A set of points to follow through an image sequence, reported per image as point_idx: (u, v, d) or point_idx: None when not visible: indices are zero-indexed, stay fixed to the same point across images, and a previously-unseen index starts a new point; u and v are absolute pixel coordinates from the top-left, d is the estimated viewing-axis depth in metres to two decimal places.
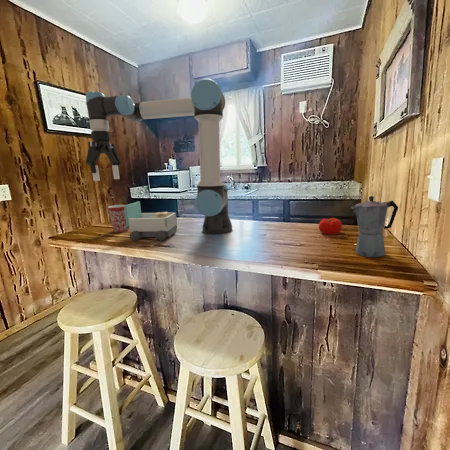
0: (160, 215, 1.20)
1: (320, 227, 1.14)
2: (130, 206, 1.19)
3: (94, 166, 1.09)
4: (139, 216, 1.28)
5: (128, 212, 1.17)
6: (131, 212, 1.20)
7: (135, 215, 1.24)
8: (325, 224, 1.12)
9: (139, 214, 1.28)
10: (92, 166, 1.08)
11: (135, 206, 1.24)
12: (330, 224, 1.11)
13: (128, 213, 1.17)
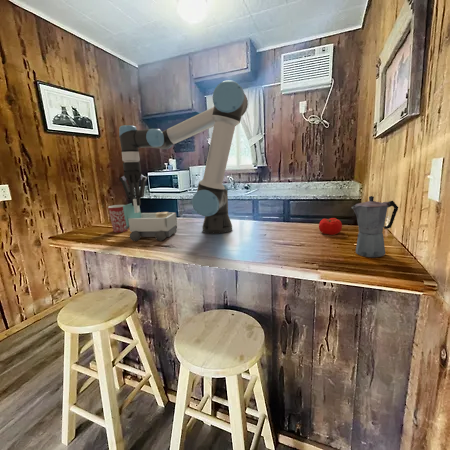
0: (160, 215, 1.20)
1: (320, 227, 1.14)
2: (129, 206, 1.19)
3: (132, 200, 1.21)
4: (139, 216, 1.28)
5: (127, 212, 1.17)
6: (130, 212, 1.20)
7: (135, 215, 1.24)
8: (325, 224, 1.12)
9: (139, 214, 1.28)
10: None
11: None
12: (330, 224, 1.11)
13: (127, 213, 1.17)
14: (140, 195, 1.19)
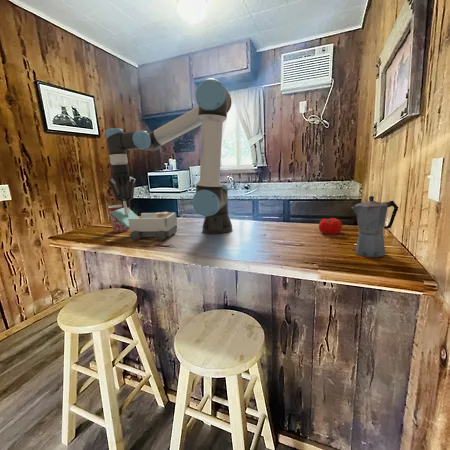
0: (160, 215, 1.20)
1: (320, 227, 1.14)
2: (118, 211, 1.20)
3: (122, 202, 1.21)
4: (135, 217, 1.28)
5: (119, 215, 1.18)
6: (122, 215, 1.21)
7: (130, 217, 1.24)
8: (325, 224, 1.12)
9: (134, 215, 1.28)
10: None
11: None
12: (330, 224, 1.11)
13: (119, 216, 1.18)
14: (129, 197, 1.20)
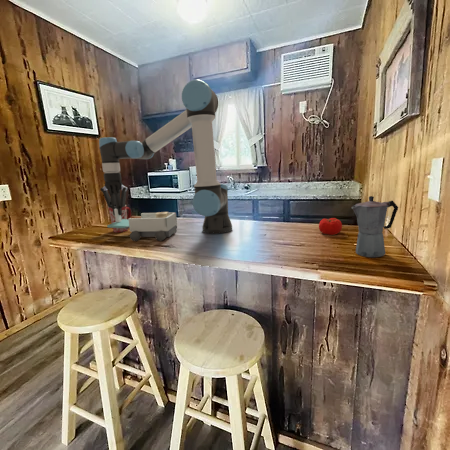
0: (160, 215, 1.20)
1: (320, 227, 1.14)
2: (113, 223, 1.22)
3: (113, 209, 1.23)
4: None
5: (115, 224, 1.19)
6: (119, 223, 1.22)
7: (127, 222, 1.25)
8: (325, 224, 1.12)
9: None
10: None
11: None
12: (330, 224, 1.11)
13: (116, 225, 1.19)
14: (121, 205, 1.21)
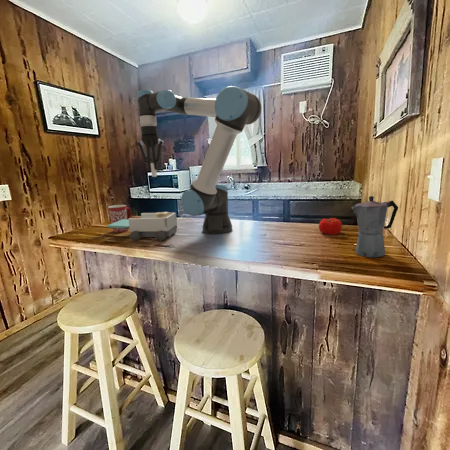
0: (160, 215, 1.20)
1: (320, 227, 1.14)
2: (113, 223, 1.22)
3: (150, 164, 1.25)
4: None
5: (115, 224, 1.19)
6: (119, 223, 1.22)
7: (127, 222, 1.25)
8: (325, 224, 1.12)
9: None
10: None
11: (120, 221, 1.26)
12: (330, 224, 1.11)
13: (116, 225, 1.19)
14: (158, 159, 1.24)
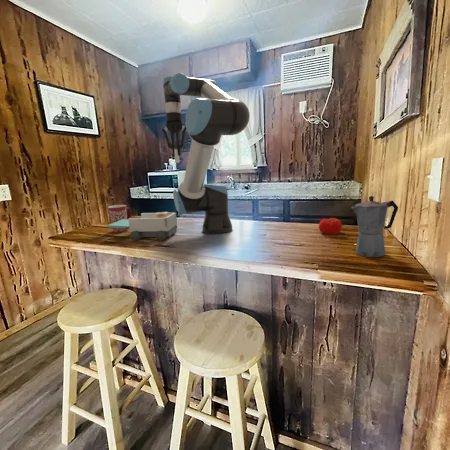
0: (160, 215, 1.20)
1: (320, 227, 1.14)
2: (113, 223, 1.22)
3: (173, 150, 1.29)
4: None
5: (115, 224, 1.19)
6: (119, 223, 1.22)
7: (127, 222, 1.25)
8: (325, 224, 1.12)
9: None
10: None
11: (120, 221, 1.26)
12: (330, 224, 1.11)
13: (116, 225, 1.19)
14: (181, 145, 1.27)
